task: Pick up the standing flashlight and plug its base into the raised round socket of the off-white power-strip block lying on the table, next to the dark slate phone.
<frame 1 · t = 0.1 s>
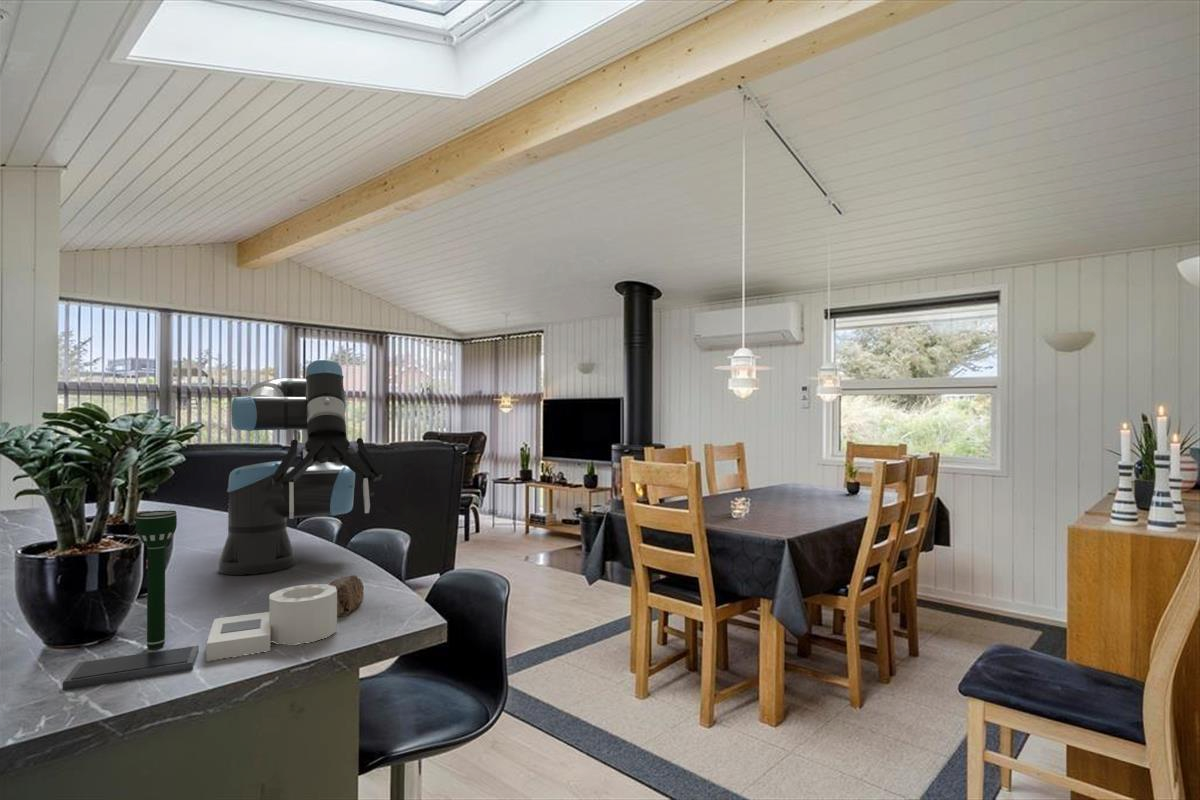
hand: (330, 512, 125), 15 cm above the counter, tool tilted 35°, fingers open, 13 cm apart
phone: (135, 669, 88), on the counter
rock: (332, 608, 116), on the counter
flashlight: (155, 648, 96), on the counter
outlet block: (303, 633, 102), on the counter
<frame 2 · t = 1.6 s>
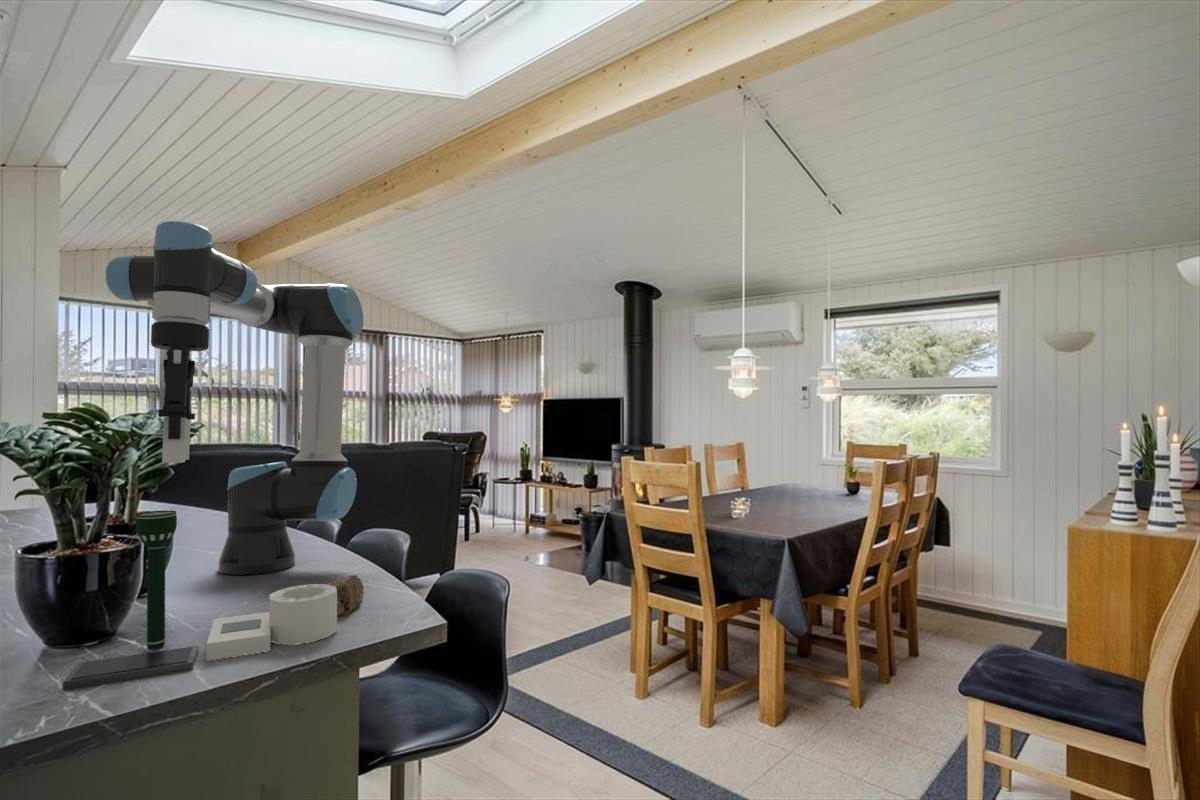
hand: (176, 461, 99), 28 cm above the counter, tool pointing down, fingers open, 13 cm apart
nothing on the counter moved.
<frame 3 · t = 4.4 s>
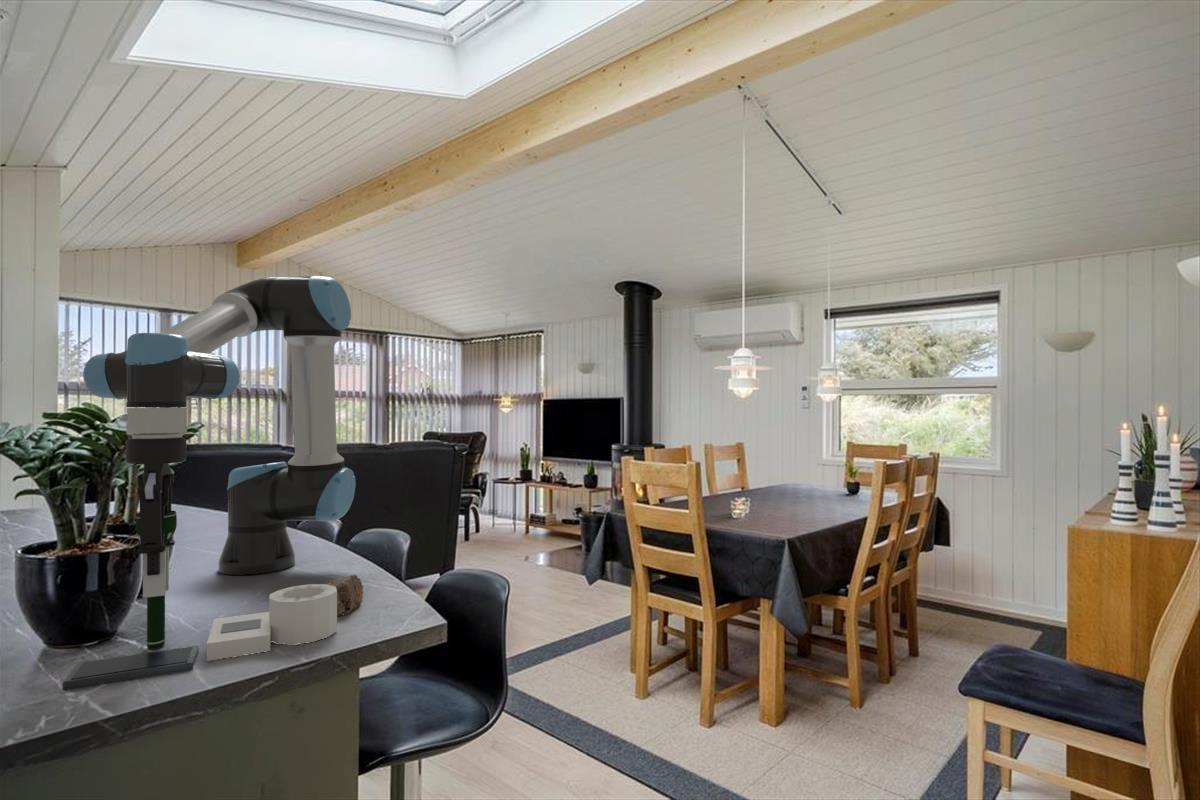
hand: (156, 593, 97), 8 cm above the counter, tool pointing down, fingers closed on flashlight, 2 cm apart
flashlight: (155, 648, 96), on the counter, touching gripper
everything else where it was.
when the fingers open (8 cm above the counter, at t = 10.0 s): flashlight stays where it is, resting in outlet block.
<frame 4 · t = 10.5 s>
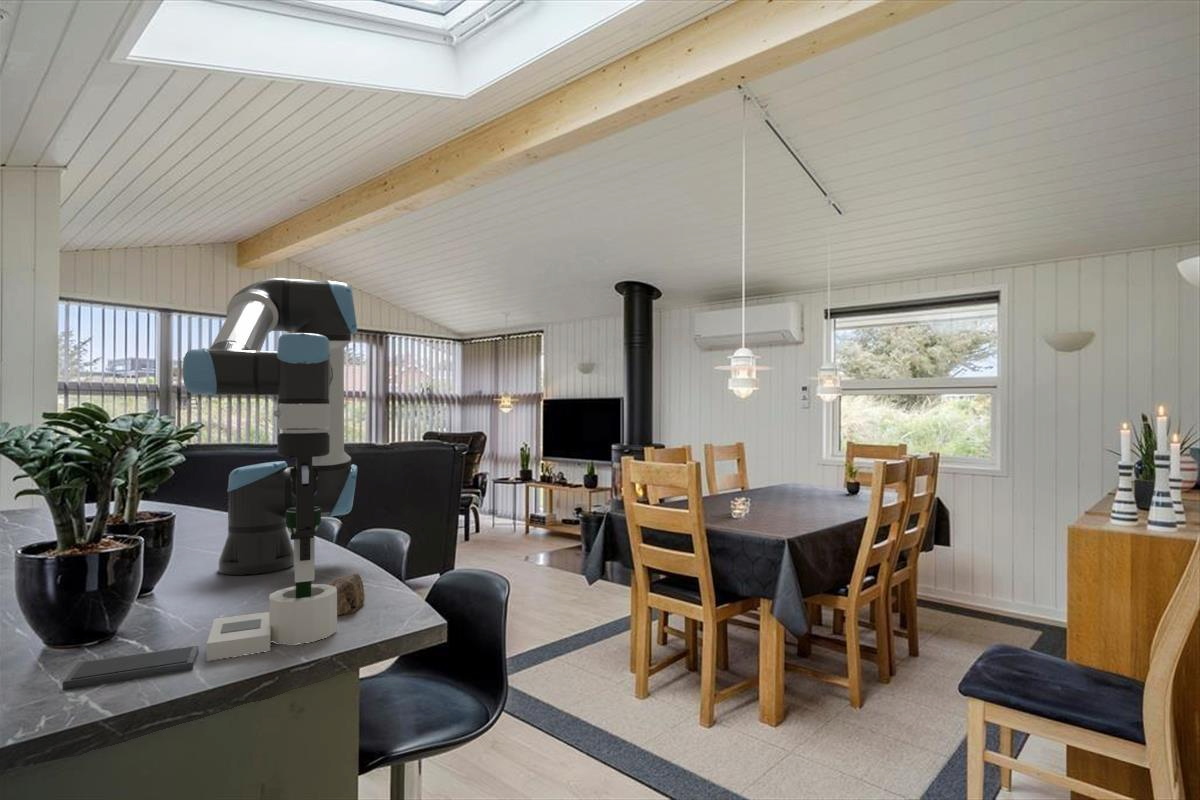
hand: (303, 573, 102), 10 cm above the counter, tool pointing down, fingers open, 9 cm apart
flashlight: (303, 635, 102), resting in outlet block
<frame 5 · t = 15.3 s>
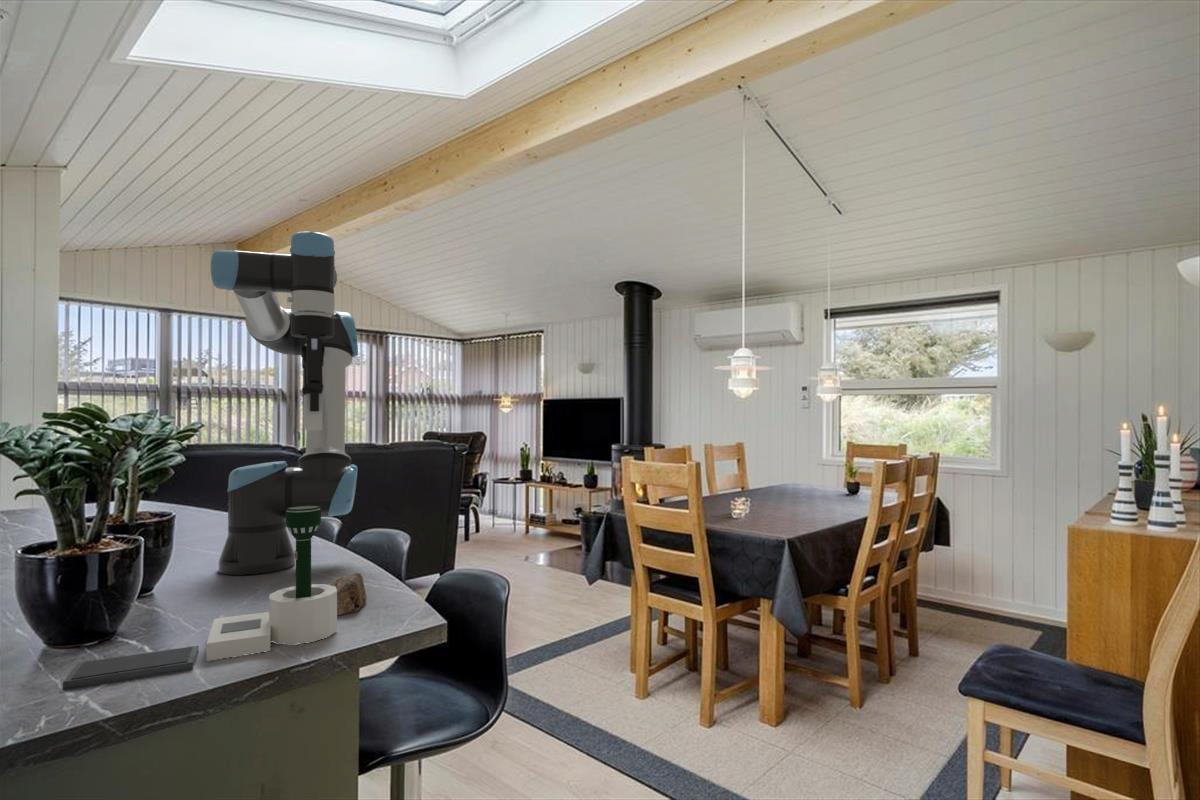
hand: (312, 429, 121), 32 cm above the counter, tool pointing down, fingers open, 13 cm apart
at the end: flashlight 0.1 cm off-centre on the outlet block, point 0.0 cm above the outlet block's base; flashlight tilted 0°; the gripper is holding nothing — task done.
